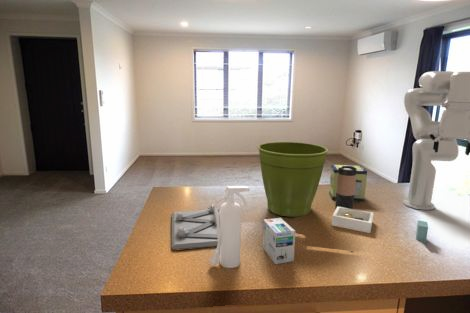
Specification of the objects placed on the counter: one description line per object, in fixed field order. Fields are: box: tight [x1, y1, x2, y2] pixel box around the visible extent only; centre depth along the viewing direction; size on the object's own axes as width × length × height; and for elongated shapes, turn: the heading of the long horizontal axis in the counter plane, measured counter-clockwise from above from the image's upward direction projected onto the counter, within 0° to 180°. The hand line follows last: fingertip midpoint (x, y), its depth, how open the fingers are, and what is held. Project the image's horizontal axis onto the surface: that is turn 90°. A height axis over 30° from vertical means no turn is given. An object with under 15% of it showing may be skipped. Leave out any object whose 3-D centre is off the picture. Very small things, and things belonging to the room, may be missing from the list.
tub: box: [331, 206, 375, 234], centre depth 122 cm, size 11×14×5 cm
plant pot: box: [257, 141, 329, 218], centre depth 136 cm, size 30×30×29 cm
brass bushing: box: [344, 213, 352, 218], centre depth 124 cm, size 3×3×3 cm
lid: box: [413, 220, 429, 245], centre depth 114 cm, size 12×16×7 cm
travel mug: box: [334, 166, 357, 210], centre depth 135 cm, size 8×8×20 cm
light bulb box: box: [262, 217, 296, 265], centre depth 100 cm, size 11×7×11 cm, turn 17°
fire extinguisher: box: [208, 185, 250, 269], centre depth 93 cm, size 7×12×25 cm, turn 112°
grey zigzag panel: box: [171, 203, 220, 251], centre depth 118 cm, size 30×22×7 cm
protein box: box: [328, 164, 368, 202], centre depth 154 cm, size 10×16×16 cm
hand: (451, 153), depth 115 cm, fingers open, 9 cm apart
